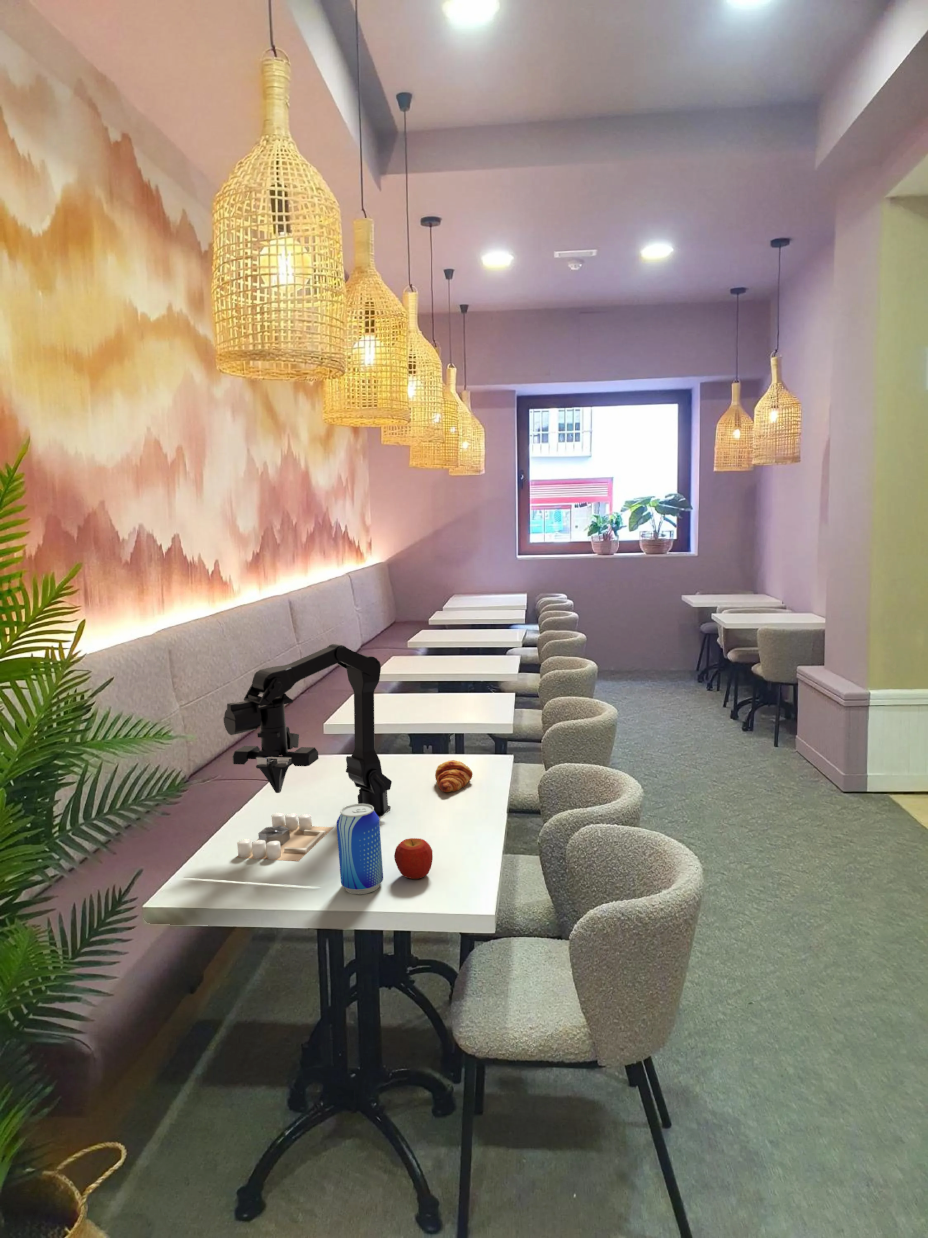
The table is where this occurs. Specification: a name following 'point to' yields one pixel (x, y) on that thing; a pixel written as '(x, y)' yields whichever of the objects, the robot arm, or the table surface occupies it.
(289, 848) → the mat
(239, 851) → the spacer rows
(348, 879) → the beer can
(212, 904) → the table surface
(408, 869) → the apple
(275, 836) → the nut
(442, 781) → the croissant
